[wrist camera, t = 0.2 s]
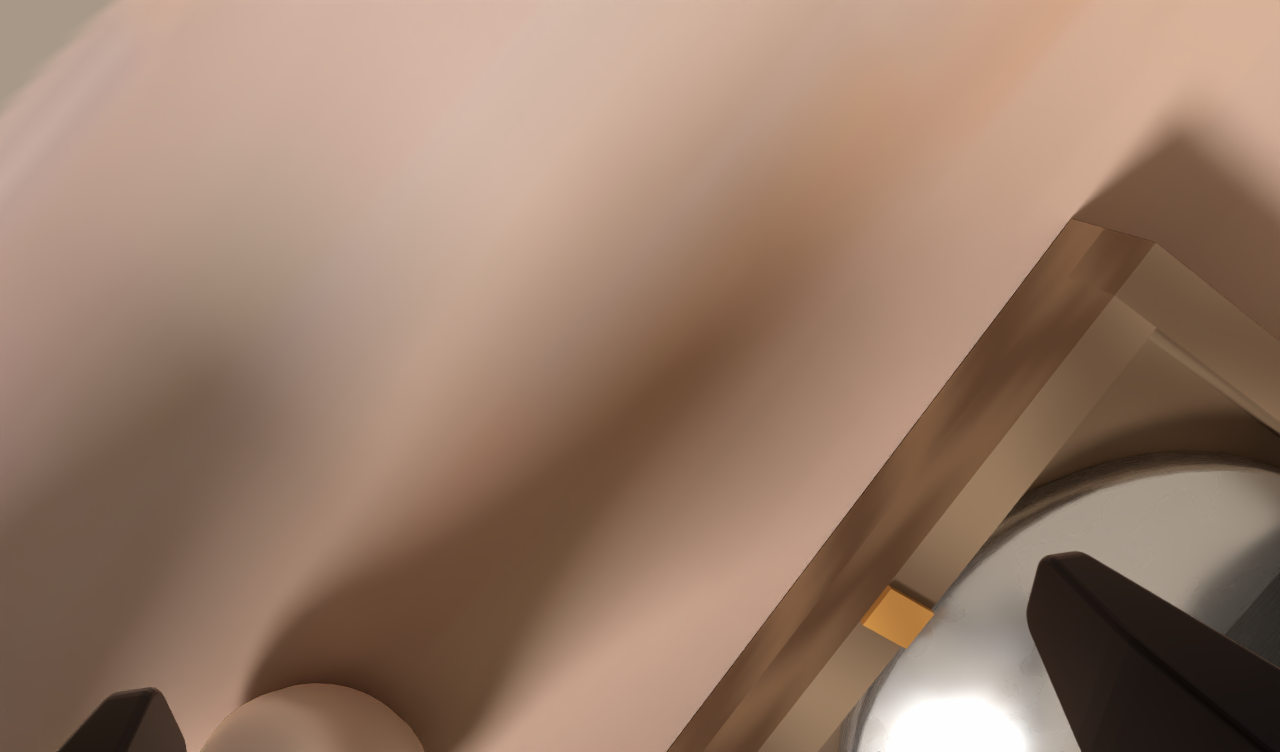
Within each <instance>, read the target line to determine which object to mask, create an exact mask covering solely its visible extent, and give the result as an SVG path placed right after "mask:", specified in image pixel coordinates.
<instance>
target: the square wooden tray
mask: <svg viewBox="0 0 1280 752" xmlns="http://www.w3.org/2000/svg"><path fill="white" fill-rule="evenodd" d="M1179 451H1201V452H1214V453H1226V454H1232V455H1236V456H1241V457H1245V458H1250V459H1254V460H1258V461H1263V462H1265V463H1268V464H1270V465H1273V466H1275V467H1278V468H1280V341H1278V340H1277V339H1276V338H1275V337H1273V336H1272V335H1271V334H1270V333H1268V332H1267V331H1266V330H1265V329H1263V328H1262V327H1261V326H1260V325H1258V324H1257V323H1256V322H1255V321H1253V320H1252V319H1251V318H1250V317H1248V316H1247V315H1246V314H1245V313H1243V312H1242V311H1241V310H1240V309H1238V308H1237V307H1236V306H1235V305H1233V304H1232V303H1231V302H1230V301H1228V300H1227V299H1226V298H1225V297H1223V296H1222V295H1221V294H1220V293H1218V292H1217V291H1216V290H1215V289H1213V288H1212V287H1211V286H1210V285H1208V284H1207V283H1206V282H1205V281H1203V280H1202V279H1201V278H1200V277H1198V276H1197V275H1196V274H1195V273H1193V272H1192V271H1191V270H1190V269H1188V268H1187V267H1186V266H1185V265H1184V264H1182V263H1181V262H1180V261H1179V260H1177V259H1176V258H1175V257H1174V256H1172V255H1171V254H1170V253H1169V252H1167V251H1166V250H1165V249H1164V248H1162V247H1161V246H1160V245H1159V244H1157V243H1156V242H1152V241H1149V240H1145V239H1142V238H1138V237H1135V236H1131V235H1127V234H1124V233H1120V232H1117V231H1113V230H1110V229H1106V228H1103V227H1099V226H1095V225H1092V224H1088V223H1085V222H1081V221H1078V220H1074V219H1071V220H1070V221H1069V223H1068V224H1067V225H1066V226H1065V228H1064V229H1063V230H1062V232H1061V233H1060V234H1059V236H1058V237H1057V238H1056V240H1055V241H1054V242H1053V244H1052V245H1051V246H1050V248H1049V249H1048V250H1047V252H1046V253H1045V254H1044V255H1043V257H1042V258H1041V259H1040V261H1039V262H1038V263H1037V265H1036V266H1035V267H1034V269H1033V270H1032V271H1031V273H1030V274H1029V275H1028V277H1027V278H1026V279H1025V281H1024V282H1023V283H1022V284H1021V286H1020V287H1019V288H1018V290H1017V291H1016V292H1015V294H1014V295H1013V296H1012V298H1011V299H1010V300H1009V302H1008V303H1007V304H1006V306H1005V307H1004V308H1003V310H1002V311H1001V312H1000V314H999V315H998V316H997V317H996V319H995V320H994V321H993V323H992V324H991V325H990V327H989V328H988V329H987V331H986V332H985V333H984V335H983V336H982V337H981V339H980V340H979V341H978V343H977V344H976V345H975V346H974V348H973V349H972V350H971V352H970V353H969V354H968V356H967V357H966V358H965V360H964V361H963V362H962V364H961V365H960V366H959V368H958V369H957V370H956V372H955V373H954V374H953V375H952V377H951V378H950V379H949V381H948V382H947V383H946V385H945V386H944V387H943V389H942V390H941V391H940V393H939V394H938V395H937V397H936V398H935V399H934V401H933V402H932V403H931V405H930V406H929V407H928V408H927V410H926V411H925V412H924V414H923V415H922V416H921V418H920V419H919V420H918V422H917V423H916V424H915V426H914V427H913V428H912V430H911V431H910V432H909V434H908V435H907V436H906V437H905V439H904V440H903V441H902V443H901V444H900V445H899V447H898V448H897V449H896V451H895V452H894V453H893V455H892V456H891V457H890V459H889V460H888V461H887V463H886V464H885V465H884V466H883V468H882V469H881V470H880V472H879V473H878V474H877V476H876V477H875V478H874V480H873V481H872V482H871V484H870V485H869V486H868V488H867V489H866V490H865V492H864V493H863V494H862V496H861V497H860V498H859V499H858V501H857V502H856V503H855V505H854V506H853V507H852V509H851V510H850V511H849V513H848V514H847V515H846V517H845V518H844V519H843V521H842V522H841V523H840V525H839V526H838V527H837V528H836V530H835V531H834V532H833V534H832V535H831V536H830V538H829V539H828V540H827V542H826V543H825V544H824V546H823V547H822V548H821V550H820V551H819V552H818V554H817V555H816V556H815V557H814V559H813V560H812V561H811V563H810V564H809V565H808V567H807V568H806V569H805V571H804V572H803V573H802V575H801V576H800V577H799V579H798V580H797V581H796V583H795V584H794V585H793V587H792V588H791V589H790V590H789V592H788V593H787V594H786V596H785V597H784V598H783V600H782V601H781V602H780V604H779V605H778V606H777V608H776V609H775V610H774V612H773V613H772V614H771V616H770V617H769V618H768V619H767V621H766V622H765V623H764V625H763V626H762V627H761V629H760V630H759V631H758V633H757V634H756V635H755V637H754V638H753V639H752V641H751V642H750V643H749V645H748V646H747V647H746V648H745V650H744V651H743V652H742V654H741V655H740V656H739V658H738V659H737V660H736V662H735V663H734V664H733V666H732V667H731V668H730V670H729V671H728V672H727V674H726V675H725V676H724V678H723V679H722V680H721V681H720V683H719V684H718V685H717V687H716V688H715V689H714V691H713V692H712V693H711V695H710V696H709V697H708V699H707V700H706V701H705V703H704V704H703V705H702V707H701V708H700V709H699V710H698V712H697V713H696V714H695V716H694V717H693V718H692V720H691V721H690V722H689V724H688V725H687V726H686V728H685V729H684V730H683V732H682V733H681V734H680V736H679V737H678V738H677V739H676V741H675V742H674V743H673V745H672V746H671V747H670V749H669V750H668V751H667V752H838V750H839V739H840V730H841V726H842V721H843V720H844V718H845V717H846V716H847V715H848V713H849V712H850V711H851V710H852V708H853V707H854V706H855V705H856V703H857V702H858V701H859V700H860V698H861V697H862V696H863V695H864V693H865V692H866V691H867V690H868V688H869V687H870V686H871V685H872V683H873V682H874V681H875V680H876V678H877V677H878V676H879V675H880V673H881V672H882V671H883V670H884V668H885V667H886V666H887V665H888V663H889V662H890V661H891V660H892V658H893V657H894V656H895V655H896V653H897V652H898V651H899V650H900V648H901V647H903V648H905V649H907V648H908V647H909V645H910V644H911V643H912V642H913V640H914V639H915V638H916V637H917V635H918V634H919V633H920V632H921V630H922V629H923V628H924V627H925V625H926V624H927V623H928V622H929V620H930V619H931V618H932V617H933V615H934V612H933V611H932V608H933V607H934V606H935V605H936V603H937V602H938V601H939V600H940V598H941V597H942V596H943V595H944V593H945V592H946V591H947V590H948V588H949V587H950V586H951V584H952V583H953V582H954V581H955V579H956V578H957V577H958V576H959V574H960V573H961V572H962V571H963V569H964V568H965V567H966V566H967V564H968V563H969V562H970V561H971V559H972V558H973V557H974V556H975V554H976V553H977V552H978V551H979V549H980V548H981V547H982V546H983V544H984V543H985V542H986V541H987V539H988V538H989V537H990V536H991V534H992V533H993V532H994V531H995V529H996V528H997V527H998V526H999V524H1000V523H1001V522H1002V521H1003V519H1004V518H1005V517H1006V516H1007V514H1008V513H1009V512H1010V511H1011V509H1012V508H1013V507H1014V506H1015V504H1016V503H1017V502H1018V501H1019V499H1020V498H1021V497H1022V496H1024V495H1026V494H1027V493H1029V492H1031V491H1033V490H1035V489H1037V488H1039V487H1041V486H1044V485H1046V484H1048V483H1051V482H1053V481H1055V480H1057V479H1060V478H1062V477H1064V476H1067V475H1069V474H1071V473H1074V472H1077V471H1080V470H1083V469H1086V468H1090V467H1093V466H1096V465H1099V464H1103V463H1106V462H1109V461H1112V460H1117V459H1123V458H1128V457H1134V456H1139V455H1144V454H1150V453H1161V452H1179Z"/></svg>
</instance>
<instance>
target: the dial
mask: <svg viewBox="0 0 1280 752" xmlns="http://www.w3.org/2000/svg"><path fill="white" fill-rule="evenodd" d="M1071 551H1079V552H1083V553H1085V554H1088V555H1090V556H1091V557H1093V558H1095V559H1096V560H1098V561H1100V562H1101V563H1103V564H1105V565H1106V566H1108V567H1110V568H1112V569H1113V570H1115V571H1117V572H1118V573H1120V574H1122V575H1123V576H1125V577H1127V578H1128V579H1130V580H1132V581H1134V582H1135V583H1137V584H1139V585H1140V586H1142V587H1144V588H1145V589H1147V590H1149V591H1150V592H1152V593H1154V594H1155V595H1157V596H1159V597H1161V598H1162V599H1164V600H1166V601H1167V602H1169V603H1171V604H1172V605H1174V606H1176V607H1177V608H1179V609H1181V610H1182V611H1184V612H1186V613H1188V614H1189V615H1191V616H1193V617H1194V618H1196V619H1198V620H1199V621H1201V622H1203V623H1204V624H1206V625H1208V626H1210V627H1211V628H1213V629H1215V630H1216V631H1218V632H1220V633H1221V634H1223V635H1225V636H1226V637H1228V638H1230V639H1231V640H1233V641H1235V642H1237V643H1238V644H1240V645H1242V646H1243V647H1245V648H1247V649H1248V650H1250V651H1252V652H1253V653H1255V654H1257V655H1258V656H1260V657H1262V658H1264V659H1265V660H1267V661H1269V662H1270V663H1272V664H1274V665H1275V666H1277V667H1279V668H1280V468H1278V467H1275V466H1273V465H1270V464H1268V463H1265V462H1263V461H1258V460H1254V459H1250V458H1245V457H1241V456H1236V455H1232V454H1226V453H1214V452H1201V451H1179V452H1161V453H1150V454H1144V455H1139V456H1134V457H1128V458H1123V459H1117V460H1112V461H1109V462H1106V463H1103V464H1099V465H1096V466H1093V467H1090V468H1086V469H1083V470H1080V471H1077V472H1074V473H1071V474H1069V475H1067V476H1064V477H1062V478H1060V479H1057V480H1055V481H1053V482H1051V483H1048V484H1046V485H1044V486H1041V487H1039V488H1037V489H1035V490H1033V491H1031V492H1029V493H1027V494H1026V495H1024V496H1022V497H1021V498H1020V499H1019V501H1018V502H1017V503H1016V504H1015V506H1014V507H1013V508H1012V509H1011V511H1010V512H1009V513H1008V514H1007V516H1006V517H1005V518H1004V519H1003V521H1002V522H1001V523H1000V524H999V526H998V527H997V528H996V529H995V531H994V532H993V533H992V534H991V536H990V537H989V538H988V539H987V541H986V542H985V543H984V544H983V546H982V547H981V548H980V549H979V551H978V552H977V553H976V554H975V556H974V557H973V558H972V559H971V561H970V562H969V563H968V564H967V566H966V567H965V568H964V569H963V571H962V572H961V573H960V574H959V576H958V577H957V578H956V579H955V581H954V582H953V583H952V584H951V586H950V587H949V588H948V590H947V591H946V592H945V593H944V595H943V596H942V597H941V598H940V600H939V601H938V602H937V603H936V605H935V606H934V607H933V608H932V611H933V612H934V615H933V617H932V618H931V619H930V620H929V622H928V623H927V624H926V625H925V627H924V628H923V629H922V630H921V632H920V633H919V634H918V635H917V637H916V638H915V639H914V640H913V642H912V643H911V644H910V645H909V647H908V648H907V649H905V648H903V647H901V648H900V650H899V651H898V652H897V653H896V655H895V656H894V657H893V658H892V660H891V661H890V662H889V663H888V665H887V666H886V667H885V668H884V670H883V671H882V672H881V673H880V675H879V676H878V677H877V678H876V680H875V681H874V682H873V683H872V685H871V686H870V687H869V688H868V690H867V691H866V692H865V693H864V695H863V696H862V697H861V698H860V700H859V701H858V702H857V703H856V705H855V706H854V707H853V708H852V710H851V711H850V712H849V713H848V715H847V716H846V717H845V718H844V720H843V721H842V726H841V730H840V739H839V750H838V752H1081V750H1080V748H1079V746H1078V744H1077V742H1076V739H1075V737H1074V735H1073V732H1072V730H1071V728H1070V725H1069V723H1068V721H1067V718H1066V716H1065V714H1064V711H1063V709H1062V707H1061V704H1060V702H1059V699H1058V697H1057V695H1056V692H1055V690H1054V688H1053V685H1052V683H1051V681H1050V678H1049V676H1048V674H1047V671H1046V669H1045V667H1044V664H1043V662H1042V660H1041V657H1040V655H1039V653H1038V650H1037V648H1036V646H1035V643H1034V641H1033V639H1032V636H1031V634H1030V631H1029V628H1028V624H1027V618H1026V610H1027V604H1028V600H1029V597H1030V593H1031V589H1032V585H1033V581H1034V577H1035V574H1036V570H1037V566H1038V563H1039V561H1040V560H1041V559H1042V558H1043V557H1044V556H1047V555H1051V554H1058V553H1065V552H1071Z"/></svg>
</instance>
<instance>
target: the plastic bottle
mask: <svg viewBox="0 0 1280 752" xmlns="http://www.w3.org/2000/svg"><path fill="white" fill-rule="evenodd" d="M200 752H424V749H423V747H422V745H421V742H420V740H419V739H418V738H417V736H416V735H415V733H414V732H413V731H412V729H411V728H410V727H409V725H408V724H407V723H406V722H405V721H403V720H402V719H401V718H400V717H399V716H398V715H397V714H396V713H395V712H393V711H392V710H391V709H390V708H389V707H387V706H386V705H385V704H383V703H382V702H380V701H379V700H377V699H375V698H374V697H372V696H370V695H368V694H366V693H363V692H361V691H358V690H356V689H353V688H349V687H345V686H340V685H335V684H321V683H311V684H302V685H294V686H291V687H287V688H284V689H280V690H277V691H274V692H270V693H267V694H264V695H261V696H259V697H257V698H255V699H253V700H251V701H249V702H247V703H245V704H243V705H242V706H240V707H239V708H238V709H236V710H235V711H234V712H232V713H231V714H230V715H229V716H227V717H226V718H225V719H224V720H223V722H222V723H221V724H220V725H219V726H218V727H217V729H216V730H215V731H214V732H213V733H212V735H211V736H210V738H209V739H208V740H207V742H206V743H205V745H204V746H203V748H202V749H201V750H200Z"/></svg>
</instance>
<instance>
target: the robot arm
mask: <svg viewBox="0 0 1280 752" xmlns="http://www.w3.org/2000/svg"><path fill="white" fill-rule="evenodd" d="M1026 618H1027V624H1028V628H1029V631H1030V634H1031V636H1032V639H1033V641H1034V643H1035V646H1036V648H1037V650H1038V653H1039V655H1040V657H1041V660H1042V662H1043V664H1044V667H1045V669H1046V671H1047V674H1048V676H1049V678H1050V681H1051V683H1052V685H1053V688H1054V690H1055V692H1056V695H1057V697H1058V699H1059V702H1060V704H1061V707H1062V709H1063V711H1064V714H1065V716H1066V718H1067V721H1068V723H1069V725H1070V728H1071V730H1072V732H1073V735H1074V737H1075V739H1076V742H1077V744H1078V746H1079V748H1080V750H1081V752H1280V668H1279V667H1277V666H1275V665H1274V664H1272V663H1270V662H1269V661H1267V660H1265V659H1264V658H1262V657H1260V656H1258V655H1257V654H1255V653H1253V652H1252V651H1250V650H1248V649H1247V648H1245V647H1243V646H1242V645H1240V644H1238V643H1237V642H1235V641H1233V640H1231V639H1230V638H1228V637H1226V636H1225V635H1223V634H1221V633H1220V632H1218V631H1216V630H1215V629H1213V628H1211V627H1210V626H1208V625H1206V624H1204V623H1203V622H1201V621H1199V620H1198V619H1196V618H1194V617H1193V616H1191V615H1189V614H1188V613H1186V612H1184V611H1182V610H1181V609H1179V608H1177V607H1176V606H1174V605H1172V604H1171V603H1169V602H1167V601H1166V600H1164V599H1162V598H1161V597H1159V596H1157V595H1155V594H1154V593H1152V592H1150V591H1149V590H1147V589H1145V588H1144V587H1142V586H1140V585H1139V584H1137V583H1135V582H1134V581H1132V580H1130V579H1128V578H1127V577H1125V576H1123V575H1122V574H1120V573H1118V572H1117V571H1115V570H1113V569H1112V568H1110V567H1108V566H1106V565H1105V564H1103V563H1101V562H1100V561H1098V560H1096V559H1095V558H1093V557H1091V556H1090V555H1088V554H1085V553H1083V552H1079V551H1071V552H1065V553H1058V554H1051V555H1047V556H1044V557H1043V558H1042V559H1041V560H1040V561H1039V563H1038V566H1037V570H1036V574H1035V577H1034V581H1033V585H1032V589H1031V593H1030V597H1029V600H1028V604H1027V610H1026ZM56 752H187V751H186V744H185V740H184V737H183V735H182V733H181V731H180V729H179V727H178V724H177V722H176V720H175V718H174V716H173V714H172V712H171V710H170V708H169V706H168V704H167V701H166V699H165V697H164V696H163V694H162V693H161V691H159V690H158V689H156V688H151V687H148V688H141V689H135V690H128V691H121V692H117V693H114V694H112V695H110V696H109V697H107V698H106V699H105V700H104V701H103V702H102V703H101V704H100V705H99V706H98V707H97V708H96V709H95V710H94V711H93V712H92V714H91V715H90V716H89V717H88V718H87V719H86V720H85V721H84V722H83V723H82V724H81V725H80V727H79V728H78V729H77V730H76V731H75V732H74V733H73V734H72V735H71V736H70V737H69V738H68V739H67V741H66V742H65V743H64V744H63V745H62V746H61V747H60V748H59V749H58V750H57V751H56Z"/></svg>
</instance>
